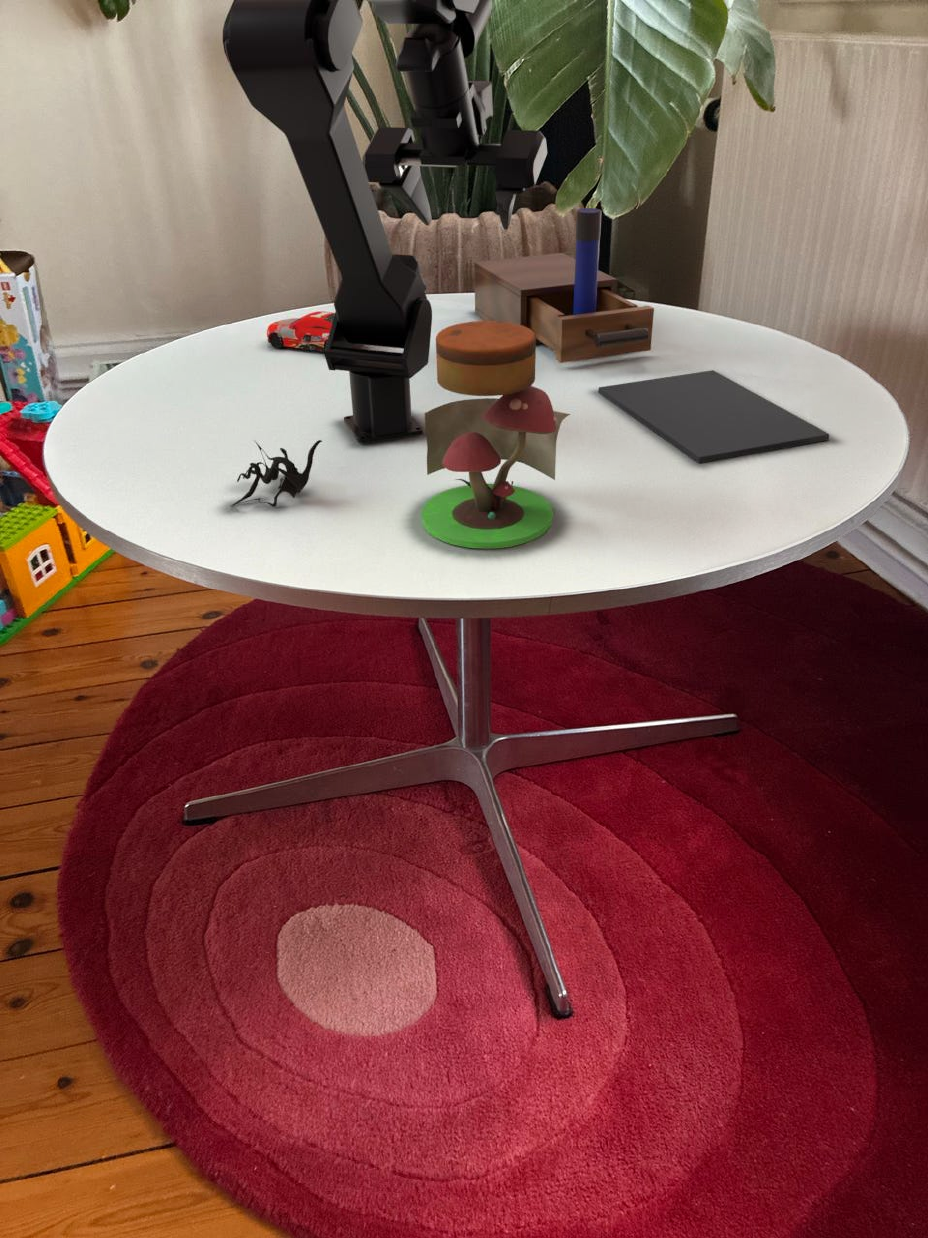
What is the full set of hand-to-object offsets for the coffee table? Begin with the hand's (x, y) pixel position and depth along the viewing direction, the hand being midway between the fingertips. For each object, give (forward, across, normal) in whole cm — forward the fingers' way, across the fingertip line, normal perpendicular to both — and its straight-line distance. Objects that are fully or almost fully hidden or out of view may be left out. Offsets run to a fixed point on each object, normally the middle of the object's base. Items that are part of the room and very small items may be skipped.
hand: (467, 224), depth 108 cm
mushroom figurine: (-6, -16, +42) cm, 46 cm away
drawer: (+14, -13, +3) cm, 19 cm away
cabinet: (+19, -5, -5) cm, 20 cm away
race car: (+11, +18, +10) cm, 24 cm away
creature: (-7, +3, +44) cm, 45 cm away
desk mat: (+7, -30, +18) cm, 35 cm away
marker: (+13, -13, +2) cm, 18 cm away
